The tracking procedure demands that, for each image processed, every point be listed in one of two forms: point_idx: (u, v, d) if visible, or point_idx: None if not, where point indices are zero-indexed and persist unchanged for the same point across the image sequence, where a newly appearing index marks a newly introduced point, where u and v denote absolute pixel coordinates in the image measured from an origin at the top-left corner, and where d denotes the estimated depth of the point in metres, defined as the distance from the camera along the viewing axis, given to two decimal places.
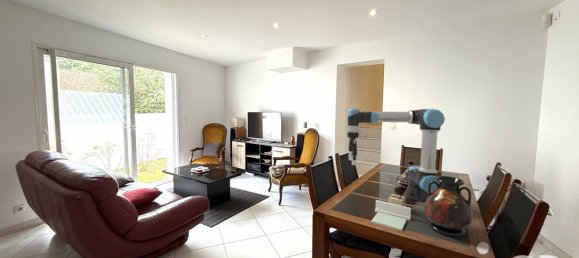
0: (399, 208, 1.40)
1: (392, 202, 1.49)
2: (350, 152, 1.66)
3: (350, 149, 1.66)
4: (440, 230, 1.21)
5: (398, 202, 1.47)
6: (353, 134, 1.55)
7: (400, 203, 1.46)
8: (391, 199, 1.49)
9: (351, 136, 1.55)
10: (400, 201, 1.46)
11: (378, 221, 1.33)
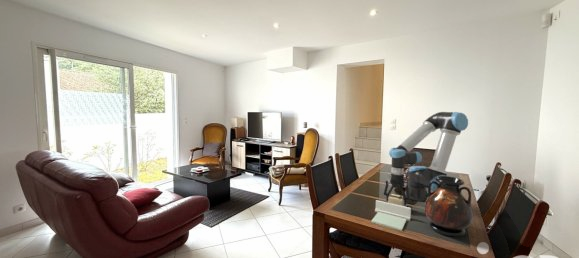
0: (399, 208, 1.40)
1: (392, 202, 1.49)
2: None
3: (389, 194, 1.53)
4: (440, 230, 1.21)
5: (398, 202, 1.47)
6: (403, 176, 1.47)
7: (400, 203, 1.46)
8: (391, 199, 1.49)
9: (402, 179, 1.47)
10: (400, 201, 1.46)
11: (378, 221, 1.33)
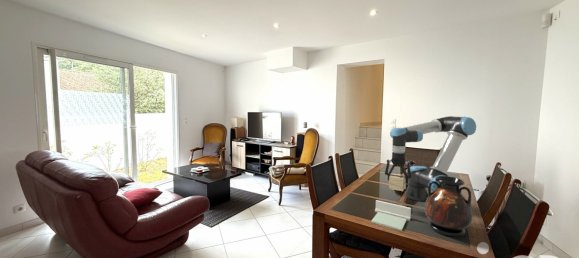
0: (399, 208, 1.40)
1: (393, 181, 1.48)
2: None
3: (390, 173, 1.52)
4: (440, 230, 1.21)
5: (399, 180, 1.46)
6: (404, 155, 1.46)
7: (401, 181, 1.45)
8: (392, 178, 1.48)
9: (403, 157, 1.45)
10: (401, 179, 1.45)
11: (378, 221, 1.33)
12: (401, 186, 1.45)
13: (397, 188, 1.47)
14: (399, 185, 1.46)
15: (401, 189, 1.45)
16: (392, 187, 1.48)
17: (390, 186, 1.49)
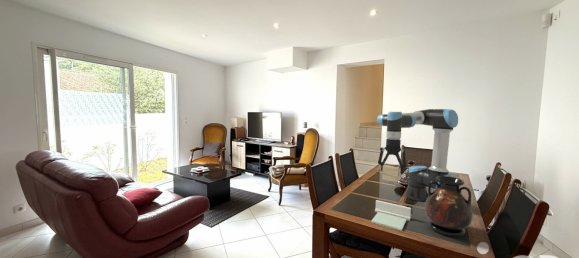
0: (399, 208, 1.40)
1: (387, 170, 1.32)
2: None
3: (384, 162, 1.36)
4: (440, 230, 1.21)
5: (394, 170, 1.30)
6: (400, 141, 1.31)
7: (396, 171, 1.29)
8: (386, 167, 1.32)
9: (399, 144, 1.30)
10: (396, 169, 1.29)
11: (378, 221, 1.33)
12: (395, 176, 1.30)
13: (391, 179, 1.31)
14: (393, 175, 1.30)
15: (396, 180, 1.30)
16: (385, 177, 1.33)
17: (383, 176, 1.34)
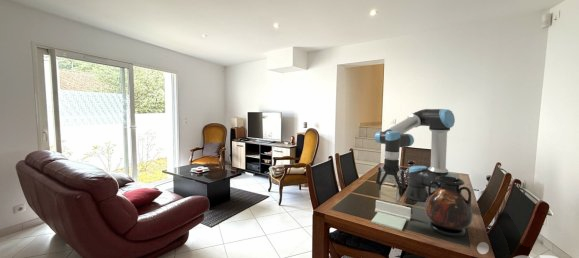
0: (399, 208, 1.40)
1: (385, 191, 1.31)
2: None
3: (382, 182, 1.35)
4: (440, 230, 1.21)
5: (392, 191, 1.29)
6: (398, 162, 1.29)
7: (394, 192, 1.28)
8: (384, 187, 1.31)
9: (397, 164, 1.28)
10: (394, 189, 1.28)
11: (378, 221, 1.33)
12: (394, 197, 1.28)
13: (389, 199, 1.30)
14: (392, 196, 1.29)
15: (394, 201, 1.28)
16: (384, 198, 1.31)
17: (381, 196, 1.32)
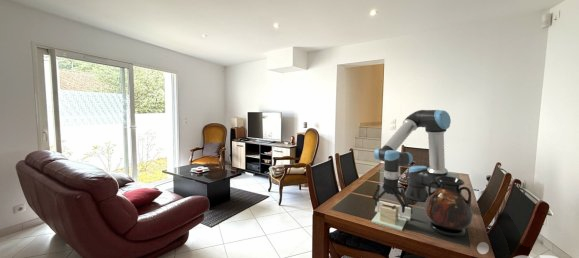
0: (399, 208, 1.40)
1: (384, 212, 1.32)
2: (378, 202, 1.37)
3: (379, 198, 1.37)
4: (440, 230, 1.21)
5: (391, 212, 1.30)
6: (397, 181, 1.30)
7: (393, 214, 1.29)
8: (383, 209, 1.32)
9: (396, 184, 1.30)
10: (393, 211, 1.29)
11: (378, 221, 1.33)
12: (393, 219, 1.30)
13: (389, 221, 1.31)
14: (391, 217, 1.30)
15: (393, 222, 1.30)
16: (383, 219, 1.33)
17: (381, 217, 1.33)
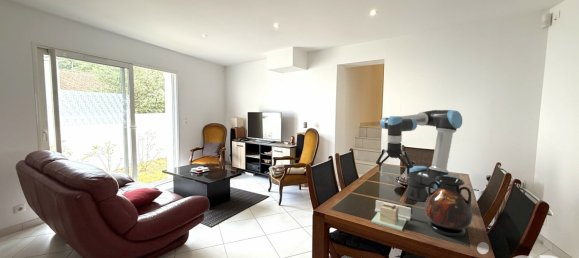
0: (399, 208, 1.40)
1: (384, 212, 1.32)
2: (382, 166, 1.43)
3: None
4: (440, 230, 1.21)
5: (391, 212, 1.30)
6: None
7: (393, 214, 1.29)
8: (383, 209, 1.32)
9: (400, 147, 1.35)
10: (393, 211, 1.29)
11: (378, 221, 1.33)
12: (393, 219, 1.30)
13: (389, 221, 1.31)
14: (391, 217, 1.30)
15: (393, 222, 1.30)
16: (383, 219, 1.33)
17: (381, 217, 1.33)
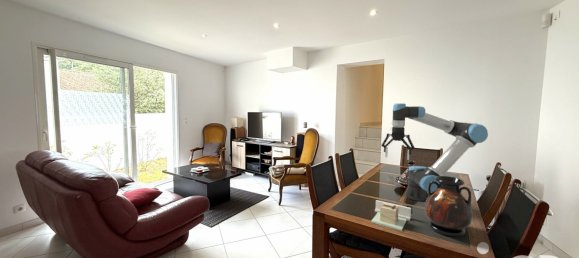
0: (399, 208, 1.40)
1: (384, 212, 1.32)
2: (387, 149, 1.59)
3: (387, 145, 1.59)
4: (440, 230, 1.21)
5: (391, 212, 1.30)
6: (404, 129, 1.52)
7: (393, 214, 1.29)
8: (383, 209, 1.32)
9: (403, 131, 1.52)
10: (393, 211, 1.29)
11: (378, 221, 1.33)
12: (393, 219, 1.30)
13: (389, 221, 1.31)
14: (391, 217, 1.30)
15: (393, 222, 1.30)
16: (383, 219, 1.33)
17: (381, 217, 1.33)
